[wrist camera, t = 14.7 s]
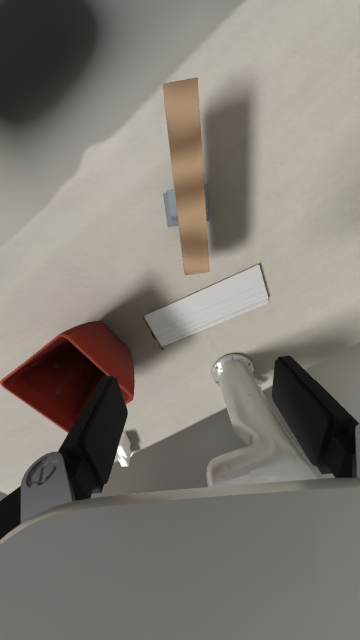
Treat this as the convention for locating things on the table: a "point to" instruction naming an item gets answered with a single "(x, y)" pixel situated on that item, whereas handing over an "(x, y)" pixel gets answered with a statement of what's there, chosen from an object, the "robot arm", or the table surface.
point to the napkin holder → (124, 450)
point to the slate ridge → (172, 208)
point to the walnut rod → (188, 171)
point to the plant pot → (72, 372)
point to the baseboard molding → (209, 306)
